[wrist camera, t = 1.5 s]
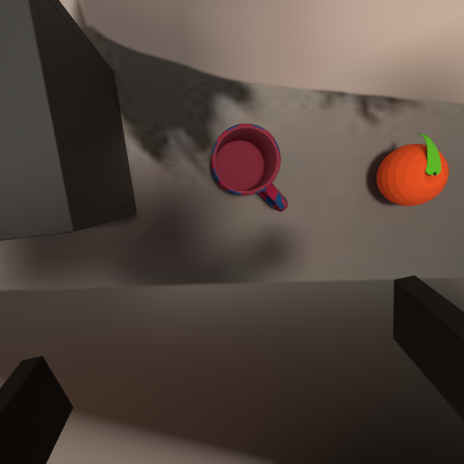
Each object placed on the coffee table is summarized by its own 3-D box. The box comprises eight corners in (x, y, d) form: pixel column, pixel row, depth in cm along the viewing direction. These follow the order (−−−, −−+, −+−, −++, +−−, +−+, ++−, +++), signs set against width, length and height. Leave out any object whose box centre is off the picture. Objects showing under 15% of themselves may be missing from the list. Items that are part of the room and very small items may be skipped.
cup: (245, 126, 33) (254, 108, 27) (291, 195, 35) (311, 195, 28) (199, 159, 33) (197, 150, 27) (247, 227, 35) (257, 235, 28)
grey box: (32, 226, 33) (-132, 256, 17) (0, 80, 30) (-224, -43, 15) (136, 214, 34) (73, 232, 18) (113, 71, 31) (17, -55, 15)
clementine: (364, 142, 35) (403, 129, 28) (417, 138, 35) (469, 124, 28) (365, 207, 36) (403, 210, 29) (416, 202, 36) (466, 204, 29)
